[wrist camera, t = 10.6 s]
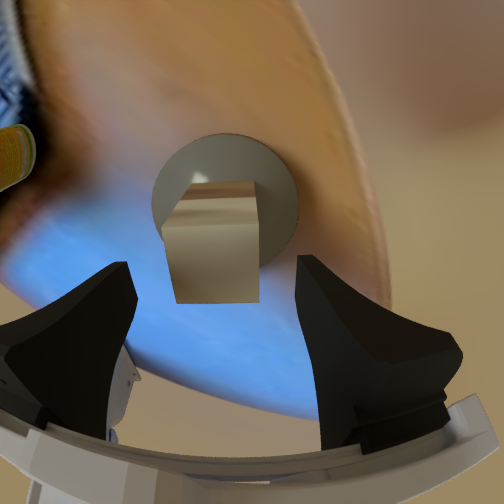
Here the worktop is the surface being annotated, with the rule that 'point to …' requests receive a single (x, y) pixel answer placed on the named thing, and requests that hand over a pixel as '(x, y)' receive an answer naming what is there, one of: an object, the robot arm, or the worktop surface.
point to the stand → (233, 169)
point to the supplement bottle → (16, 154)
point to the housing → (214, 244)
